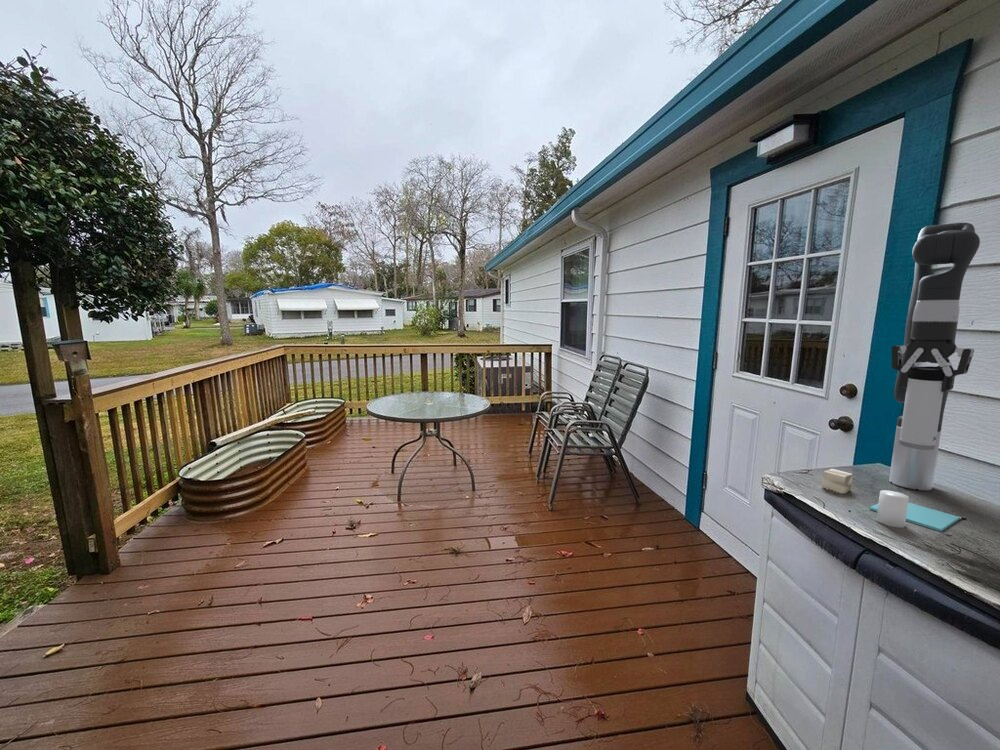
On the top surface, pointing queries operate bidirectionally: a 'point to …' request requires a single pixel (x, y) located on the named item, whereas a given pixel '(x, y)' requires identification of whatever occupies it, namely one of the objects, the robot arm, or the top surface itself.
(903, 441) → the travel mug
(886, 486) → the top surface
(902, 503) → the white plastic capsule
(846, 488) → the birch block
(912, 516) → the teal mat
